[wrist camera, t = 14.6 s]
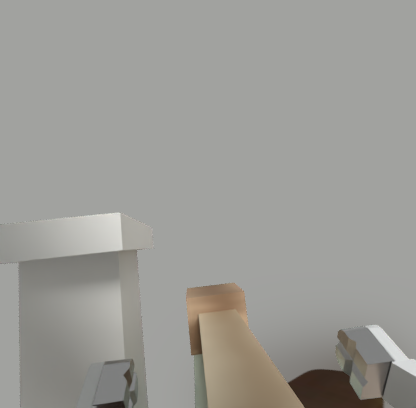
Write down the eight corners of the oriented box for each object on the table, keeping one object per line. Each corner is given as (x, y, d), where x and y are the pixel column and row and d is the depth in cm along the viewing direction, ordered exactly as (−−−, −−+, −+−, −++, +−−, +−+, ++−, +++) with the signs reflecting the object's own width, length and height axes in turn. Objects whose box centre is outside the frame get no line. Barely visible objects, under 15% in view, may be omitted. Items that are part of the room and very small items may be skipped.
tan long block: (191, 591, 6) (176, 403, 7) (191, 333, 25) (187, 288, 26) (373, 555, 7) (343, 378, 7) (239, 327, 25) (233, 282, 26)
